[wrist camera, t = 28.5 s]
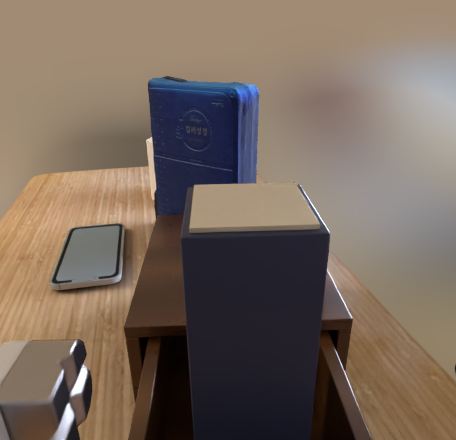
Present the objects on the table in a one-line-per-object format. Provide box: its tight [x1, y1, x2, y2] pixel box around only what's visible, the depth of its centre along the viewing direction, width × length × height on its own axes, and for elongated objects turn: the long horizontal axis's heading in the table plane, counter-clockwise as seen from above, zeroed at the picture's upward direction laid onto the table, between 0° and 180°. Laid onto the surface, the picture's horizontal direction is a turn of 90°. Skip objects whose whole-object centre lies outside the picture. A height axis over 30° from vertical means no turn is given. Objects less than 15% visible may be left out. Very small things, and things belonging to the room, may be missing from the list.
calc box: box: [180, 182, 330, 440], centre depth 19 cm, size 5×5×16 cm
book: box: [148, 76, 259, 218], centre depth 50 cm, size 14×5×20 cm, turn 56°
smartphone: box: [50, 223, 125, 290], centre depth 49 cm, size 7×1×15 cm
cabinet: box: [124, 215, 353, 403], centre depth 33 cm, size 17×14×9 cm
